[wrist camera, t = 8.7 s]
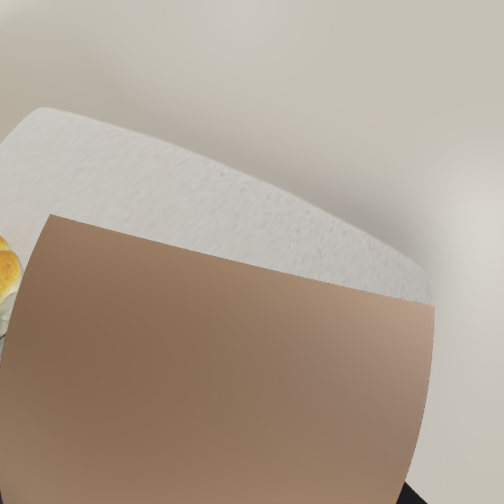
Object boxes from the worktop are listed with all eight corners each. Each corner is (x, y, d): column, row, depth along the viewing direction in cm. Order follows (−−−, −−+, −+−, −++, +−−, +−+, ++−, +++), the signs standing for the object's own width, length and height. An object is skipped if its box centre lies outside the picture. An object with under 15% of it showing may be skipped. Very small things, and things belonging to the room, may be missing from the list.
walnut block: (253, 440, 12) (333, 603, 1) (161, 417, 12) (5, 516, 1) (273, 354, 14) (435, 306, 3) (181, 332, 14) (50, 214, 3)
